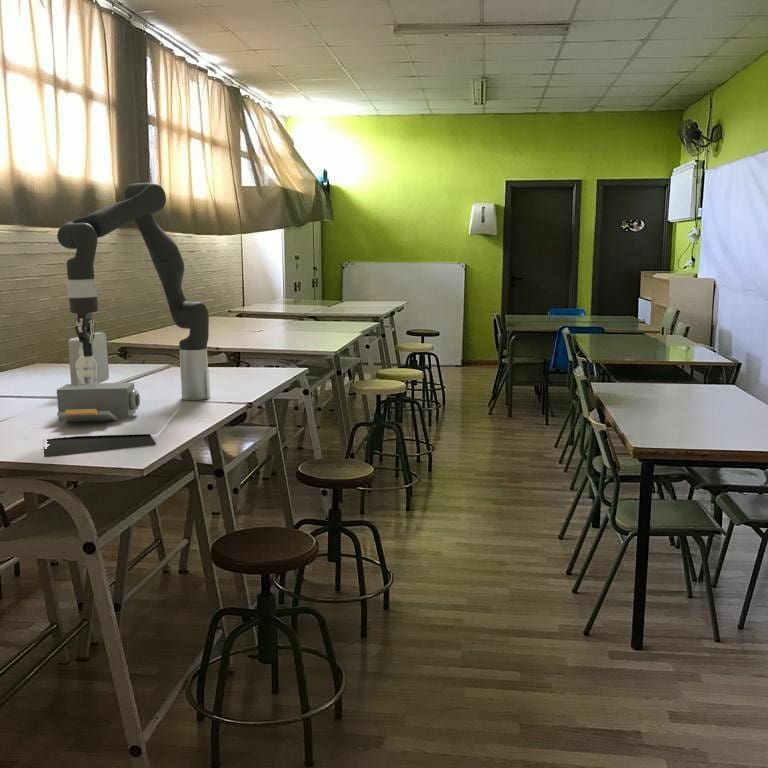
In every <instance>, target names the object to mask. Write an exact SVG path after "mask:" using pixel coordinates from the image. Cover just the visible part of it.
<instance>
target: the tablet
mask: <svg viewBox="0 0 768 768" xmlns="http://www.w3.org/2000/svg"><path fill="white" fill-rule="evenodd" d="M46 439H47V441H48V442H47V444H50V445H49V446H48V447H47V449H44V448H43V458H55V457H64V456H65V457H66V456H74V455H75V456H76V455H84V454H92V453H100V452H101V453H104V452H112V451H113V452H114V451H122V450H123V451H124V450H130V449H131V450H132V449H141V448H150V447H156V446H157V442H156V441H155V440H154V437H153V436H152V435H151V433H142V434H110V435H108V434H106V435H77V436H76V435H75V436H66V437H65V436H64V437H56V438H46Z"/></svg>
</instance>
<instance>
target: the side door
mask: <svg viewBox="0 0 768 768" xmlns="http://www.w3.org/2000/svg"><path fill="white" fill-rule="evenodd" d="M56 416H57V417H58V418H59V417H60V418H62V419H64V421H65V422H66V423H69V422H70V423H72V422H74V423H75V422H77V423H79V422H109V421H110V422H112V421H118V420H119V419H118V418H117V417H116V416H115V415H113V414H112V413H111V412H110V411H97V410H96V409H73V410H66V412H58V411H57V415H56Z"/></svg>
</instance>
